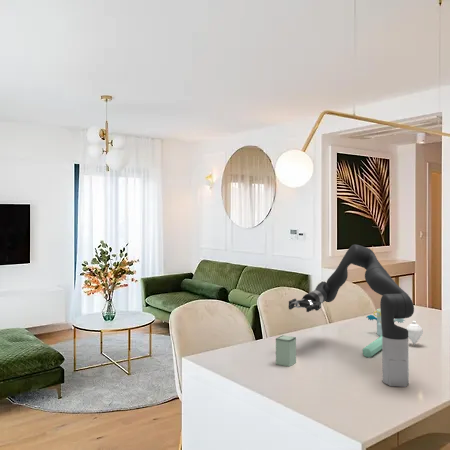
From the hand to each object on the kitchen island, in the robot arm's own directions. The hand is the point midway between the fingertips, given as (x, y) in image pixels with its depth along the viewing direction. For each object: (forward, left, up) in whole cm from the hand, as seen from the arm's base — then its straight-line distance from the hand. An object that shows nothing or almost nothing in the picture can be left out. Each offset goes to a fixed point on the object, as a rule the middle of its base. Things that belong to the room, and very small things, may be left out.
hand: (298, 308), depth 210 cm
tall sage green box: (-10, +5, -22) cm, 25 cm away
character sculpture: (+46, -46, -22) cm, 68 cm away
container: (+14, -36, -22) cm, 44 cm away
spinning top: (+26, -56, -22) cm, 65 cm away
